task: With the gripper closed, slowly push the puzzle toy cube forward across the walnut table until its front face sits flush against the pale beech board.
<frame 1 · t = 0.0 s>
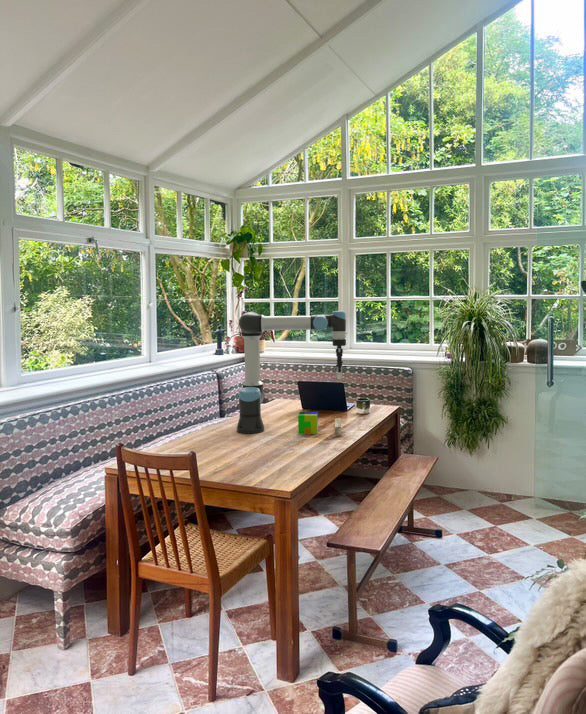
hand: (339, 376, 350), 28 cm above the table, fingers open, 13 cm apart
puzzle toy: (308, 432, 339), on the table
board: (337, 431, 338), on the table
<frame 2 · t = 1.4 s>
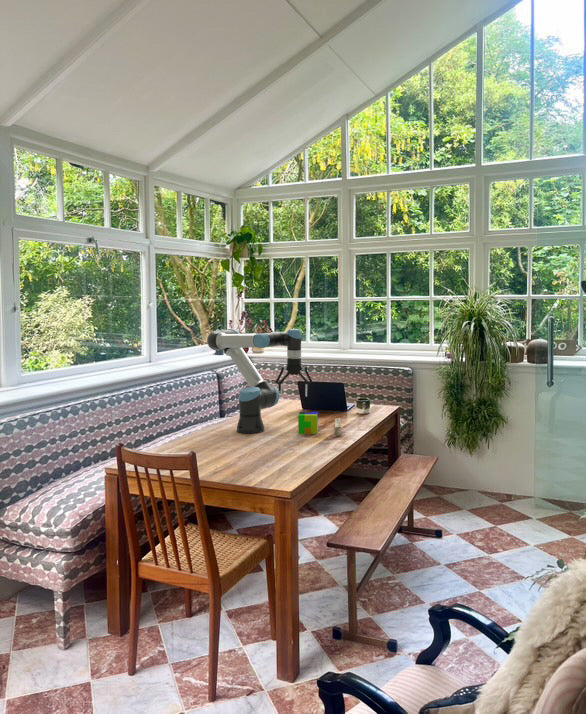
hand: (293, 396, 339), 19 cm above the table, fingers open, 13 cm apart
nothing on the table moved.
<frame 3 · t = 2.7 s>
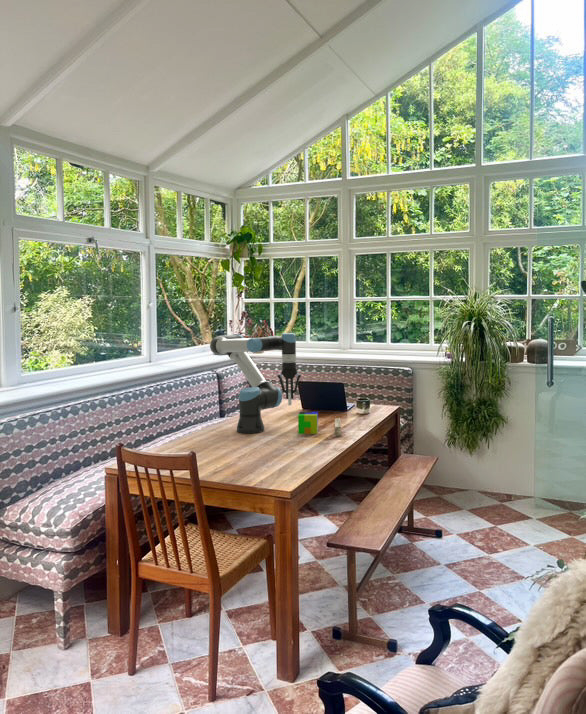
hand: (289, 404, 338), 15 cm above the table, fingers closed
nothing on the table moved.
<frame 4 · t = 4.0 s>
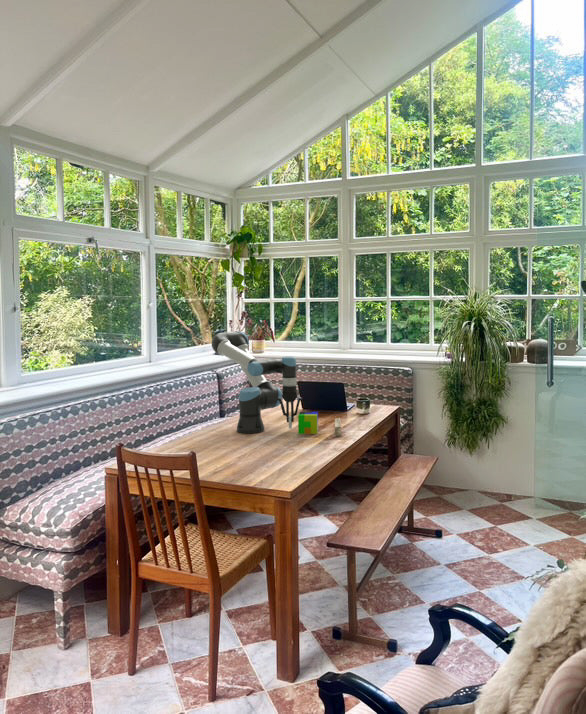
hand: (290, 427, 339), 2 cm above the table, fingers closed
nothing on the table moved.
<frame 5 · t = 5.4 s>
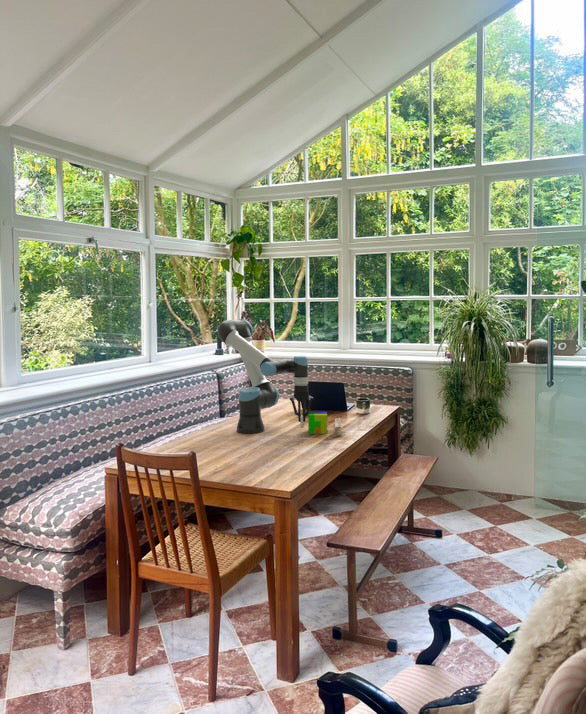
hand: (302, 427, 338), 2 cm above the table, fingers closed
puzzle toy: (318, 431, 338), on the table, touching gripper, hand
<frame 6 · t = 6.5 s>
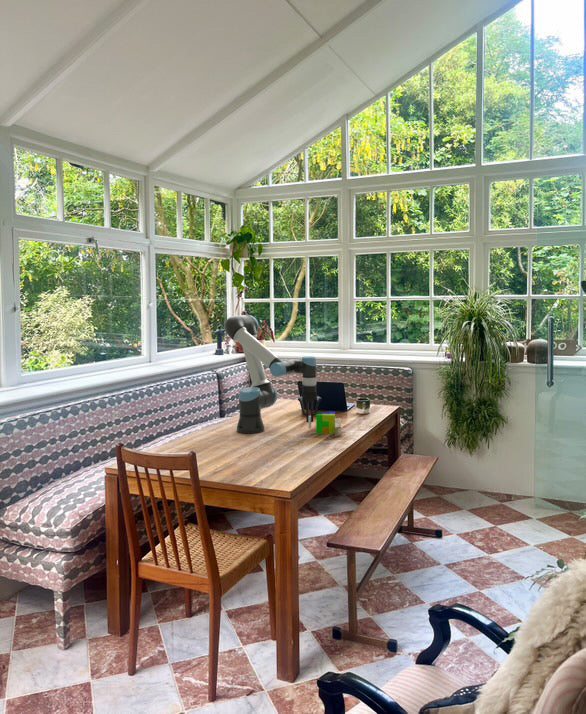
hand: (309, 427, 338), 2 cm above the table, fingers closed
puzzle toy: (325, 431, 338), on the table, touching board, hand
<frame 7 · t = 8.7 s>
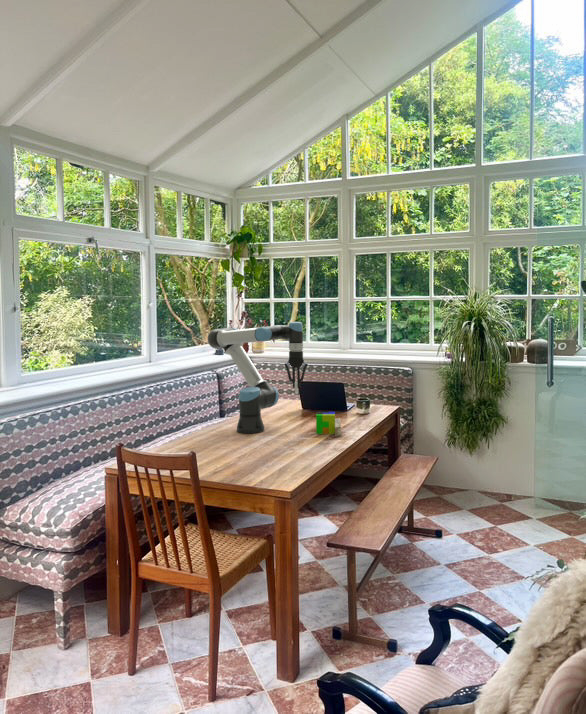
hand: (296, 393, 339), 20 cm above the table, fingers closed
puzzle toy: (325, 432, 338), on the table
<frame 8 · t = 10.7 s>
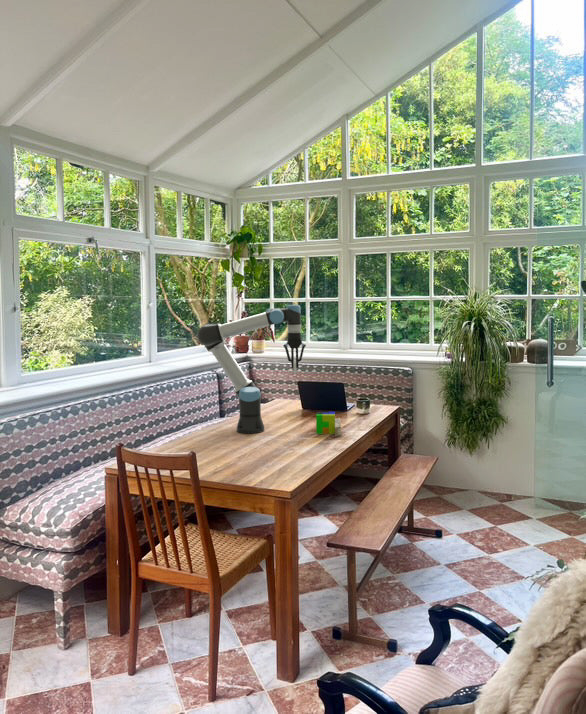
hand: (295, 373, 354), 29 cm above the table, fingers closed
nothing on the table moved.
at the end: puzzle toy inside the target area on the table beside the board (0.2 cm from its centre), on the table; puzzle toy tilted 0° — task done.
